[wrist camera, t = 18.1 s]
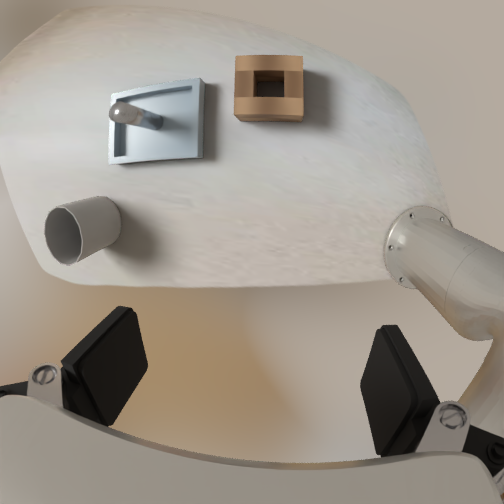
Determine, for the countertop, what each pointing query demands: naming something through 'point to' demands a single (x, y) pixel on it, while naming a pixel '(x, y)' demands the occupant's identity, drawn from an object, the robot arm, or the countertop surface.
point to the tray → (172, 131)
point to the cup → (81, 228)
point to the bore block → (268, 70)
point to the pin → (135, 116)
